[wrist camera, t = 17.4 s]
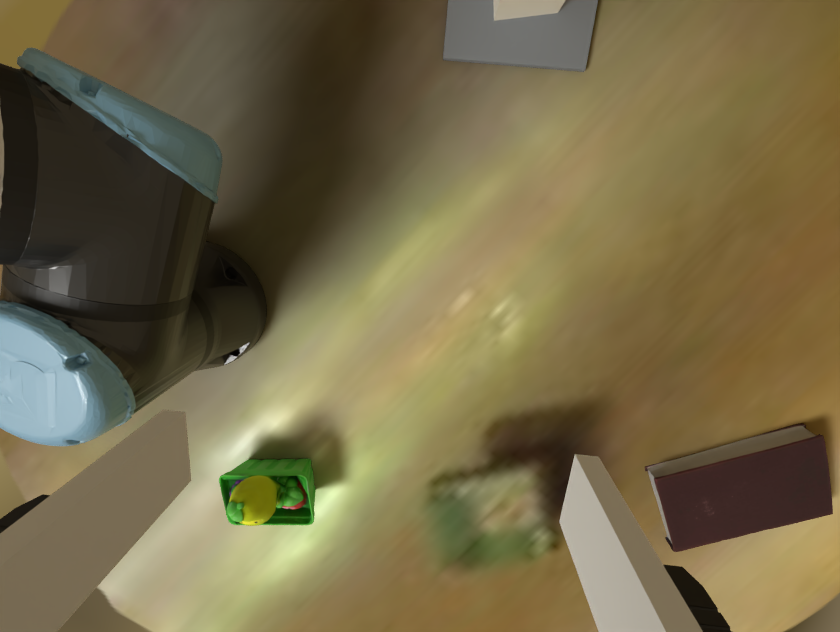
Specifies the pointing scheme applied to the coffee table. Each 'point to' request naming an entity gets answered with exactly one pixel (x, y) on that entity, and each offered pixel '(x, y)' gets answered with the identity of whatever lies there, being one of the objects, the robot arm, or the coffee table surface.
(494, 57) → the slate mat
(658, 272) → the coffee table surface
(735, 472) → the book
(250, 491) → the fruit basket
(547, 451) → the coffee table surface
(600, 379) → the coffee table surface
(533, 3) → the cream block
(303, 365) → the coffee table surface
